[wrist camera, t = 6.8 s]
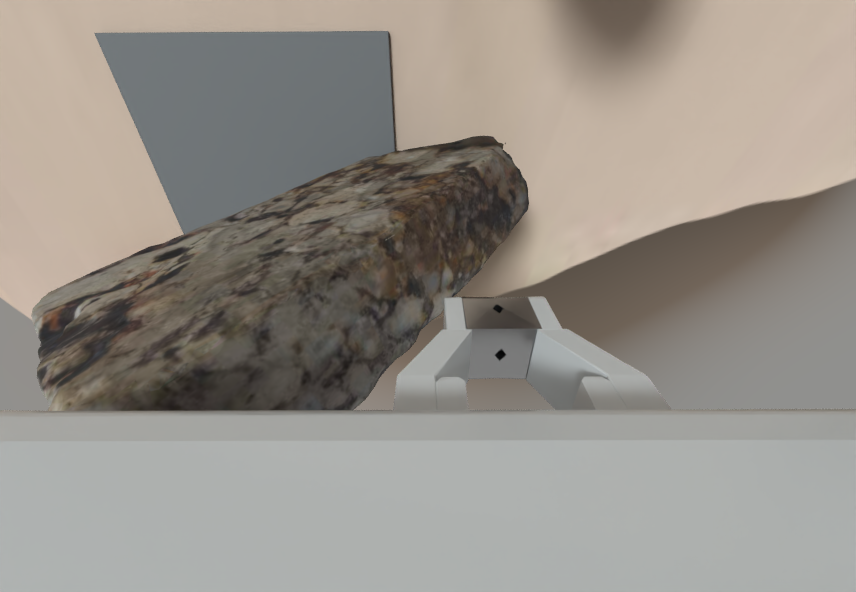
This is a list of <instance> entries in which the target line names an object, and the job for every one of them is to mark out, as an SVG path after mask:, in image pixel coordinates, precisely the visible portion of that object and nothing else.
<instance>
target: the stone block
mask: <svg viewBox="0 0 856 592" xmlns="http://www.w3.org/2000/svg"><path fill="white" fill-rule="evenodd" d="M505 144H506V143H505ZM528 205H529V200H528V188H527V183H526V181H525V179H524V178H523V177H522V175H521V172H520V170H519V169H518V168H517V167H516V166H515V164H514V163H513V161H512V158H511V156H510V155H509V154H507V153H506V152H505V151H504V150H503V144H502V143H498V142H497V141H496V140H495V139H494V137H491V136H476V137H470V138H467V139H463V140H459V141H456V142H452V143H446V144H439V145H432V146H425V147H419V148H413V149H408V150H404V151H394V152H391V153H388V154H384V155H382V156H372V157H367V158H364V159H362V160H360V161H357V162H355V163H353V164H350V165H348V166H346V167H344V168H341V169H339V170H337V171H334V172H330V173H327V174H325V175H323V176H320V177H318V178H316V179H314V180H311V181H309V182H307V183H305V184H302V185H300V186H298V187H295V188H293V189H291V190H289V191H287V192H285V193H282V194H280V195H277V196H275V197H273V198H271V199H269V200H267V201H264V202H262V203H260V204H257V205H254V206H251V207H249V208H246V209H244V210H242V211H240V212H237V213H235V214H233V215H231V216H228V217H226V218H223V219H220V220H217V221H215V222H212V223H210V224H207V225H204V226H202V227H199V228H197V229H195V230H192V231H190V232H188V233H186V234H184V235H181V236H179V237H176V238H174V239H172V240H170V241H168V242H166V243H163V244H159V245H155V246H151V247H148V248H146V249H144V250H141V251H139V252H137V253H135V254H133V255H131V256H129V257H127V258H125V259H122V260H120V261H117V262H115V263H112V264H110V265H108V266H105V267H103V268H101V269H99V270H96V271H94V272H92V273H90V274H88V275H86V276H83V277H81V278H79V279H77V280H74V281H72V282H70V283H68V284H66V285H64V286H62V287H60V288H58V289H56V290H54V291H51V292H49V293H48V294H47V295H46V296H44V297H43V298H42V299H41V300H40V302H39V303H38V304H37V305H36V306H35V307H34V308H33V311H32V315H31V316H32V320H33V323H34V327H35V329H36V332H37V335H38V338H39V339H40V341H41V345H40V346H41V347H40V348H39V350H38V355H39V358H40V361H41V362H40V364H39V366H38V368H37V379H38V381H39V384H40V388H41V391H42V393H43V394H44V395H45V397H46V399H47V400H48V404H49V409H48V411H251V410H354V409H355V408H356V407H357V406H358V405H360V404H361V403H362V402H363V401H364V400H365V399H366V398H367V397H368V395H369V394H370V393H371V391H372V390H373V388H374V387H375V385H376V383H377V381H378V379H379V378H380V377H381V375H382V374H383V373H384V372H385V371H386V369H387V368H388V367H389V366H390V365H391V364H392V363H393V362H394V361H395V360H396V359H397V358H398V357H400V356H402V355H403V354H404V353H405V352H406V351H408V350H409V349H410V348H411V347H412V345H413V344H414V343H415V342H416V339H417V337H418V335H419V332H420V330H421V329H422V328H424V327H425V326H426V325H427V324H428V323H429V322H430V321H431V320H433V319H434V318H436V317H437V316H439V315H440V314H441V312H442V311H443V310H444V298H445V297H453V296H454V295H456V294H457V293H458V292H459V291H460V290H461V289H462V288H463V287H464V286H465V285H466V284H467V283H468V282H469V281H470V279H471V278H472V277H473V276H474V275H476V274H477V273H478V272H479V271H480V270H481V269H482V267H483V265H484V263H485V262H486V261H487V259H488V258H489V257H490V255H491V254H492V253H493V252H494V251H495V250H496V248H497V247H498V246H499V245H500V244H501V243H502V242H503V241H504V240H505V239H506V238H507V236H508V235H509V233H510V232H511V230H512V229H513V228H514V226H515V225H516V224H517V223H518V222H519V220H520V219H521V217H522V216H523V215H524V213H525V212H526V211H527V210H528Z"/></svg>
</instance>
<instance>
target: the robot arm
mask: <svg viewBox="0 0 856 592" xmlns="http://www.w3.org/2000/svg"><path fill="white" fill-rule="evenodd" d="M443 324H444V325H443V330H441V331H440V332H439V333H438V334H437V335H436V336H435V337H434V338H433V339H432V340H431V341H430V343H428V345H426V346H425V348H424V349H423V350H422V351H421V352H420V353H419V354H418V355H417V356H416V357H415V358H414V359H413V360H412V361H411V362H410V363H409V364H408V365H407V366H406V367H405V368H404V369H403V370H402V371H401V373H399V375H398V376H397V383H396V391H395V399H394V409H393V410H251V411H13V410H12V411H10V410H9V411H8V410H5V411H4V410H1V411H0V592H856V409H730V410H729V409H711V410H710V409H705V410H703V409H696V410H695V409H693V410H692V409H690V410H689V409H686V410H683V409H682V410H681V409H680V410H675V409H674V410H673V409H671V408H670V406H669V405H668V404H667V402H666V401H665V400H664V398H663V397H662V395H661V394H660V393H659V391H658V390H657V389H656V387H655V386H654V385H653V384H652V382H651V381H650V379H649V378H648V377H647V375H645V374H643V373H642V372H640V371H638V370H636V369H635V368H633V367H631V366H629V365H628V364H626V363H625V362H623V361H621V360H619V359H618V358H616V357H614V356H613V355H611V354H609V353H608V352H606V351H604V350H602V349H601V348H599V347H597V346H596V345H594V344H592V343H591V342H588V341H587V340H585V339H584V338H582V337H580V336H579V335H577V334H575V333H574V332H572V331H570V330H568V329H562V327H561V325H560V324H559V322H558V320H557V318H556V316H555V315H554V313H553V311H552V309H551V307H550V305H549V304H548V302H547V300H546V298H545V297H543V296H539V297H538V296H537V297H514V298H494V297H445V298H444V323H443ZM483 378H512V379H526V380H527V381H528V382H529V383H530V384H531V385H532V386H533V387H534V388H535V389H536V390H537V391H538V393H539V394H541V395H542V396H543V397H544V399H546V401H547V402H548V403H549V404H551V406H552V407H553V408H555V410H469V408H468V400H467V393H466V383H467V382H468V379H483Z"/></svg>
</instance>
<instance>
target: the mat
mask: <svg viewBox="0 0 856 592" xmlns="http://www.w3.org/2000/svg"><path fill="white" fill-rule="evenodd" d="M95 36H96V38H97V40H98V42H99V45H100V47H101V49H102V51H103V54H104V56H105V58H106V60H107V63H108V65H109V67H110V69H111V72H112V74H113V76H114V78H115V81H116V83H117V85H118V87H119V90H120V92H121V94H122V96H123V99H124V101H125V103H126V105H127V108H128V110H129V112H130V114H131V116H132V119H133V121H134V123H135V125H136V128H137V130H138V132H139V134H140V137H141V139H142V141H143V143H144V146H145V148H146V150H147V152H148V155H149V157H150V159H151V161H152V164H153V166H154V168H155V170H156V173H157V175H158V177H159V179H160V182H161V184H162V186H163V188H164V191H165V193H166V195H167V197H168V200H169V202H170V204H171V206H172V209H173V211H174V213H175V215H176V218H177V220H178V222H179V224H180V227H181V229H182V231H183V233H184V234H186V233H188V232H190V231H192V230H195V229H197V228H199V227H202V226H204V225H207V224H210V223H212V222H215V221H217V220H220V219H223V218H226V217H228V216H231V215H233V214H235V213H237V212H240V211H242V210H244V209H246V208H249V207H251V206H254V205H257V204H260V203H262V202H264V201H267V200H269V199H271V198H273V197H275V196H277V195H280V194H282V193H285V192H287V191H289V190H291V189H293V188H295V187H298V186H300V185H302V184H305V183H307V182H309V181H311V180H314V179H316V178H318V177H320V176H323V175H325V174H327V173H330V172H334V171H337V170H339V169H341V168H344V167H346V166H348V165H350V164H353V163H355V162H357V161H360V160H362V159H364V158H367V157H372V156H382V155H384V154H388V153H391V152H394V151H395V139H394V121H393V103H392V84H391V66H390V48H389V32H388V31H333V32H180V33H95Z"/></svg>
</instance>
